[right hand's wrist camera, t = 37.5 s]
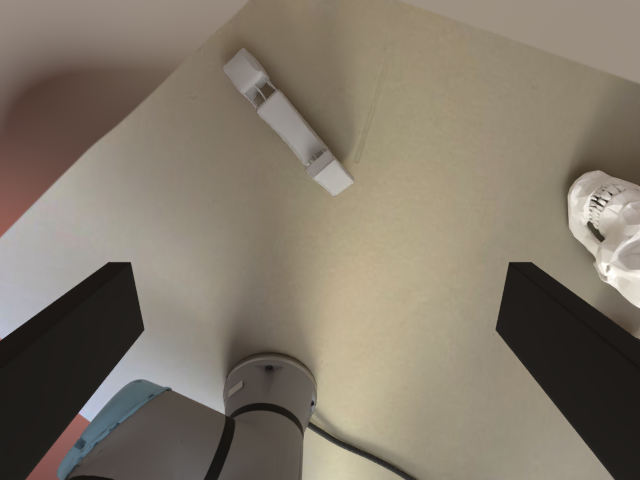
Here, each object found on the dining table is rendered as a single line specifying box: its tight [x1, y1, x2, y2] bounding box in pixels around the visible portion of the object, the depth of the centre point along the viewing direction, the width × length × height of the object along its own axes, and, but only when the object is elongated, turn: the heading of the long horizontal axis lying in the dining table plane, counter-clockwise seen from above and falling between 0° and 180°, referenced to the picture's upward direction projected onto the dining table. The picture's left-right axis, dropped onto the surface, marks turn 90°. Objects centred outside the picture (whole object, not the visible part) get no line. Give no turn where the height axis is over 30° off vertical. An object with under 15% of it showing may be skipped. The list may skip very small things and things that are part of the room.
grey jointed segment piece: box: [223, 48, 354, 196], centre depth 42 cm, size 20×4×7 cm, turn 41°
